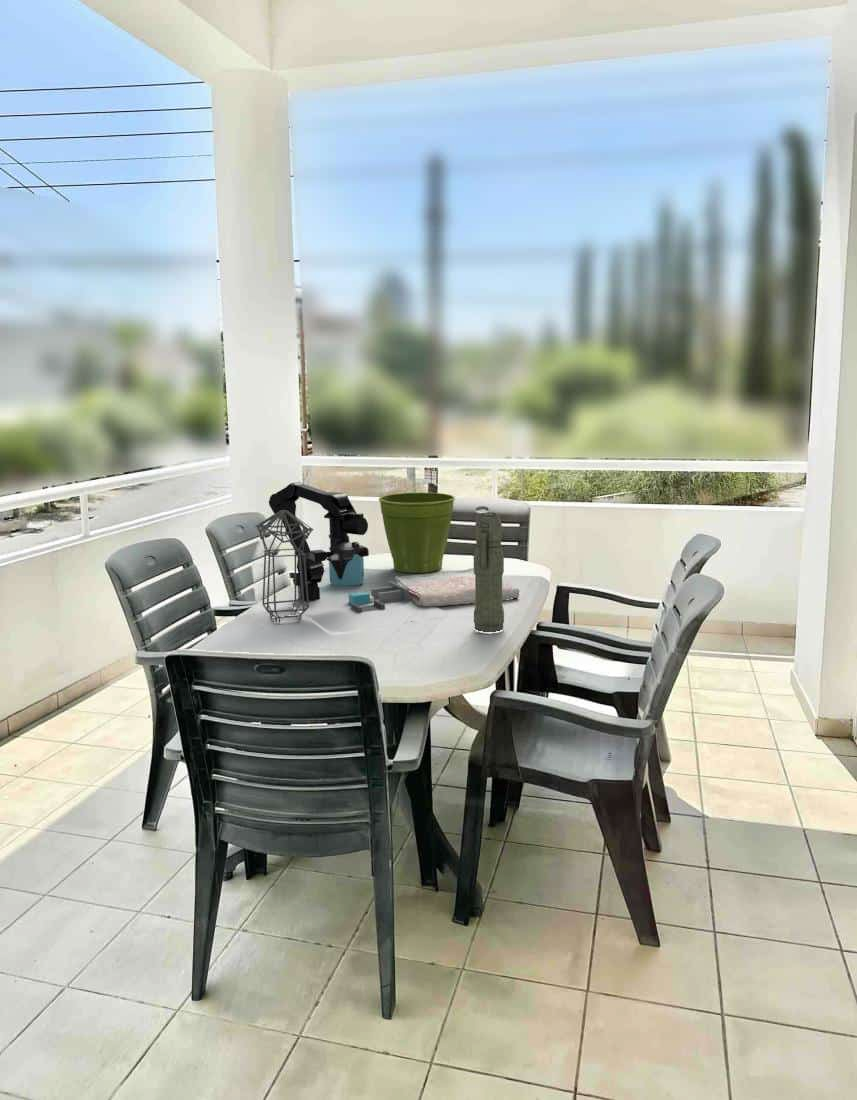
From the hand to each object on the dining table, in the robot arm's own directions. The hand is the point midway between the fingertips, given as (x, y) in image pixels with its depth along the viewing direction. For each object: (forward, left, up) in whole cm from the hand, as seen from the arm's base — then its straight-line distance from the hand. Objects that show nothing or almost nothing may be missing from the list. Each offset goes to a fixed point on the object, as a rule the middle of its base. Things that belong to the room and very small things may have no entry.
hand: (340, 579), depth 286 cm
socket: (+17, 0, -10) cm, 19 cm away
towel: (+41, -2, -10) cm, 42 cm away
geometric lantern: (-20, -6, -10) cm, 23 cm away
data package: (+14, +31, -10) cm, 35 cm away
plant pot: (+48, +41, -10) cm, 64 cm away
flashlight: (+29, -47, -10) cm, 56 cm away
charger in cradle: (+6, -9, -10) cm, 14 cm away
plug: (+7, 0, -10) cm, 12 cm away
